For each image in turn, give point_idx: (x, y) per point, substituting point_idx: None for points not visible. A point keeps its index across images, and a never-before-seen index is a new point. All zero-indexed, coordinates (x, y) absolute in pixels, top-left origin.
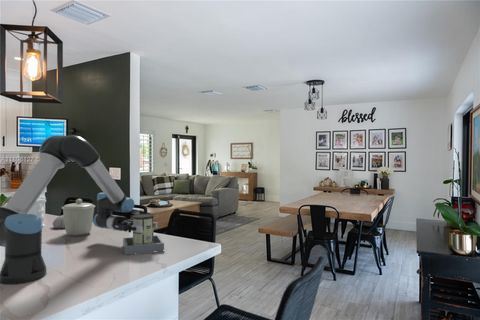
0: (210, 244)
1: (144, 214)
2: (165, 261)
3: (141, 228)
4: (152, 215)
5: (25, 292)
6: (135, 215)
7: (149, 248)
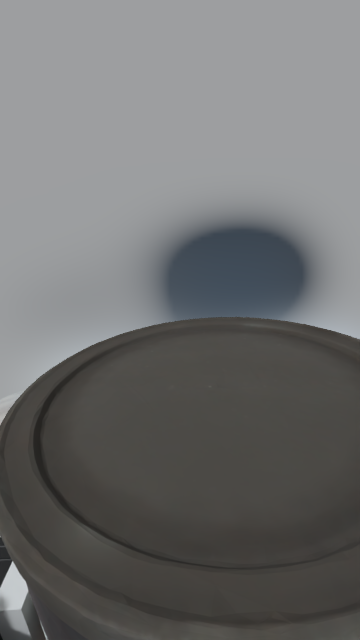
0: (7, 408)
1: (67, 460)
2: None
3: None
4: (142, 332)
5: None
6: (352, 544)
7: None
